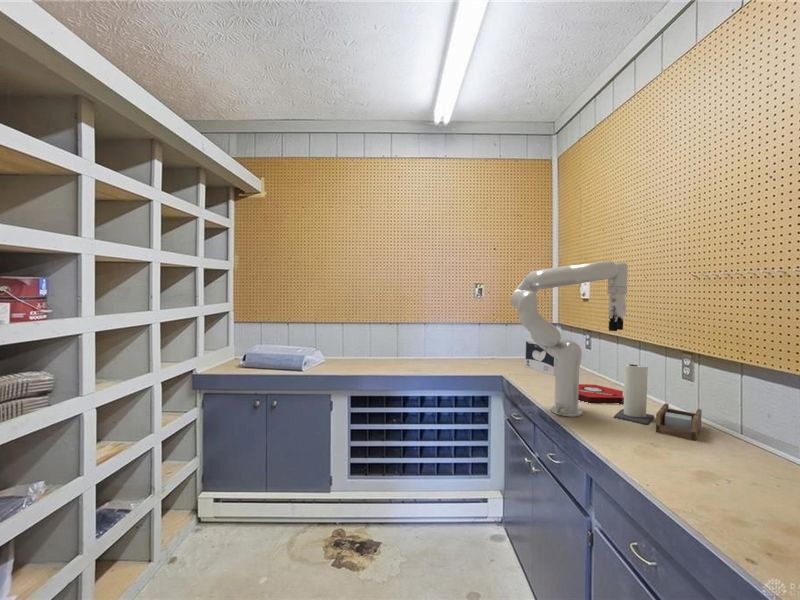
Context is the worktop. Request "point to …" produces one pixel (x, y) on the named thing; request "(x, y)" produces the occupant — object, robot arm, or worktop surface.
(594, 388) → the plaque
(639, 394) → the paper towel roll
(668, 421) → the offcut block
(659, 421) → the rack
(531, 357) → the packaging
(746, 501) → the worktop surface
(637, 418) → the mat
